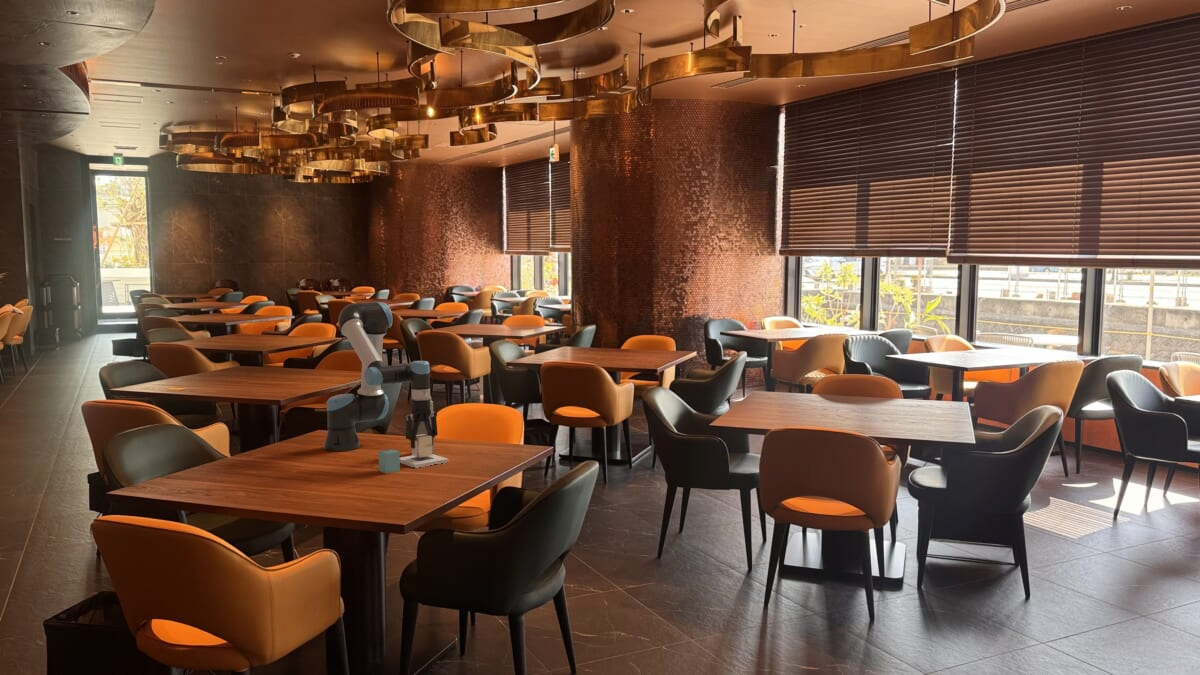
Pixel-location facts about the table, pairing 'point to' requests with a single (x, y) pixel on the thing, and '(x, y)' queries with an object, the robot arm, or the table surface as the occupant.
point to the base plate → (422, 460)
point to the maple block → (424, 445)
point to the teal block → (389, 461)
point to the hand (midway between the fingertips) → (422, 454)
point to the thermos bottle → (422, 426)
